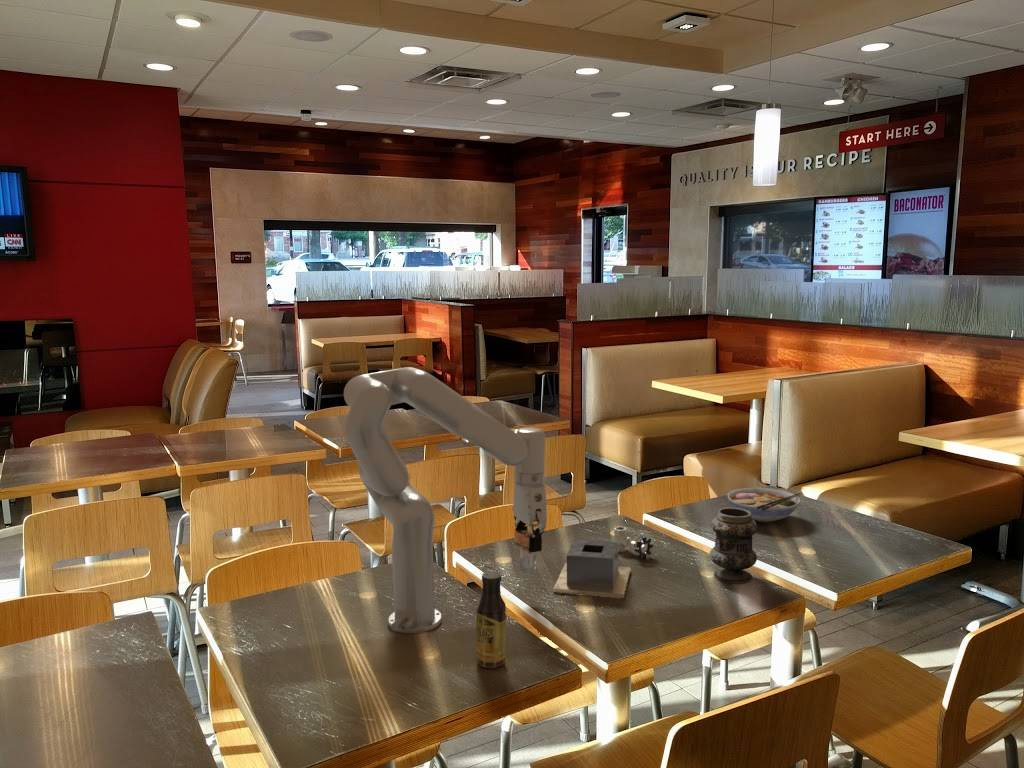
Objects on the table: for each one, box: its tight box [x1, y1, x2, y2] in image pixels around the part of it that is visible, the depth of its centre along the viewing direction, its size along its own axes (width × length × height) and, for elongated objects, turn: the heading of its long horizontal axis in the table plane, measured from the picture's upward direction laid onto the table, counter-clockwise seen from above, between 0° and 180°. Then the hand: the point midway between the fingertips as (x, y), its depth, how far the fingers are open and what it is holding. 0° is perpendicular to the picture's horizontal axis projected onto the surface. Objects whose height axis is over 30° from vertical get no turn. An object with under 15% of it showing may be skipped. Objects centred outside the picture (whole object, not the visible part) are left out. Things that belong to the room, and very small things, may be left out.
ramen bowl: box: [727, 487, 803, 523], centre depth 255 cm, size 25×23×8 cm
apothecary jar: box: [709, 507, 758, 584], centre depth 208 cm, size 12×12×18 cm
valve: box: [612, 526, 654, 560], centre depth 227 cm, size 7×7×12 cm
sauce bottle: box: [475, 570, 507, 670], centre depth 164 cm, size 7×6×20 cm
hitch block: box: [552, 539, 631, 599], centre depth 207 cm, size 18×18×9 cm
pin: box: [513, 528, 537, 574], centre depth 197 cm, size 7×7×10 cm
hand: (528, 546), depth 197 cm, fingers closed on pin, 7 cm apart
